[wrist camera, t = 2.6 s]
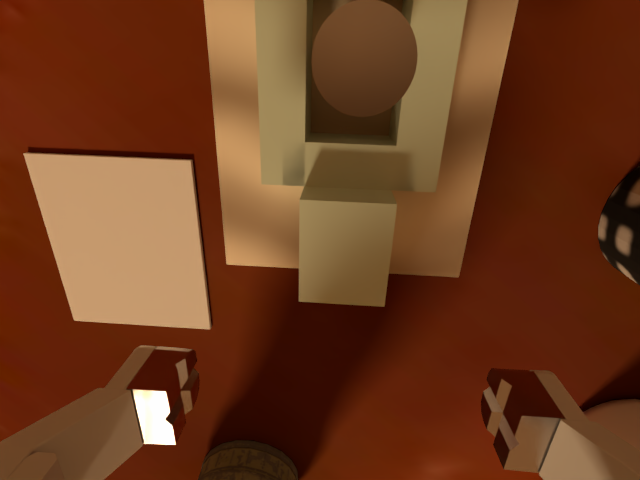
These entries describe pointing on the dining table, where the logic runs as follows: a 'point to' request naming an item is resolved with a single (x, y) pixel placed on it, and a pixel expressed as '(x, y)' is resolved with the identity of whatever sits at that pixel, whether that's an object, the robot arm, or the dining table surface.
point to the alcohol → (619, 418)
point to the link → (351, 148)
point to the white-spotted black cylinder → (623, 227)
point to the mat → (125, 237)
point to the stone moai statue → (247, 462)
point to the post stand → (354, 123)
